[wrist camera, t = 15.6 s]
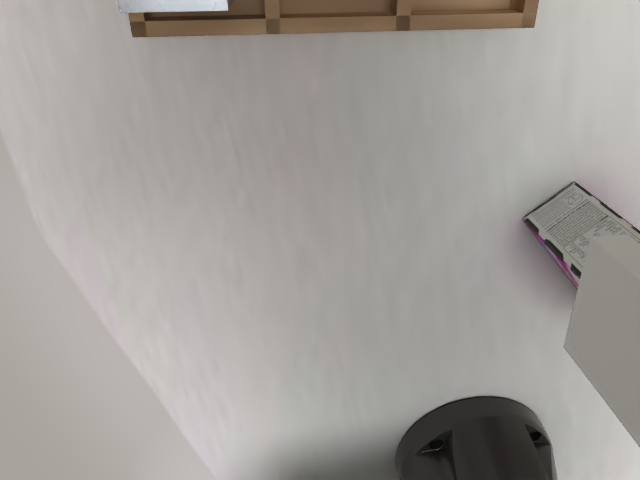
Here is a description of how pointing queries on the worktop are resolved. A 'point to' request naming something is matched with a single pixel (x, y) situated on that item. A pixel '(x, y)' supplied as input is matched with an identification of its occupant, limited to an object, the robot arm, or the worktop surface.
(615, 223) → the candy bar box
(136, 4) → the panel
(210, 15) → the bay rack
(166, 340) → the worktop surface
